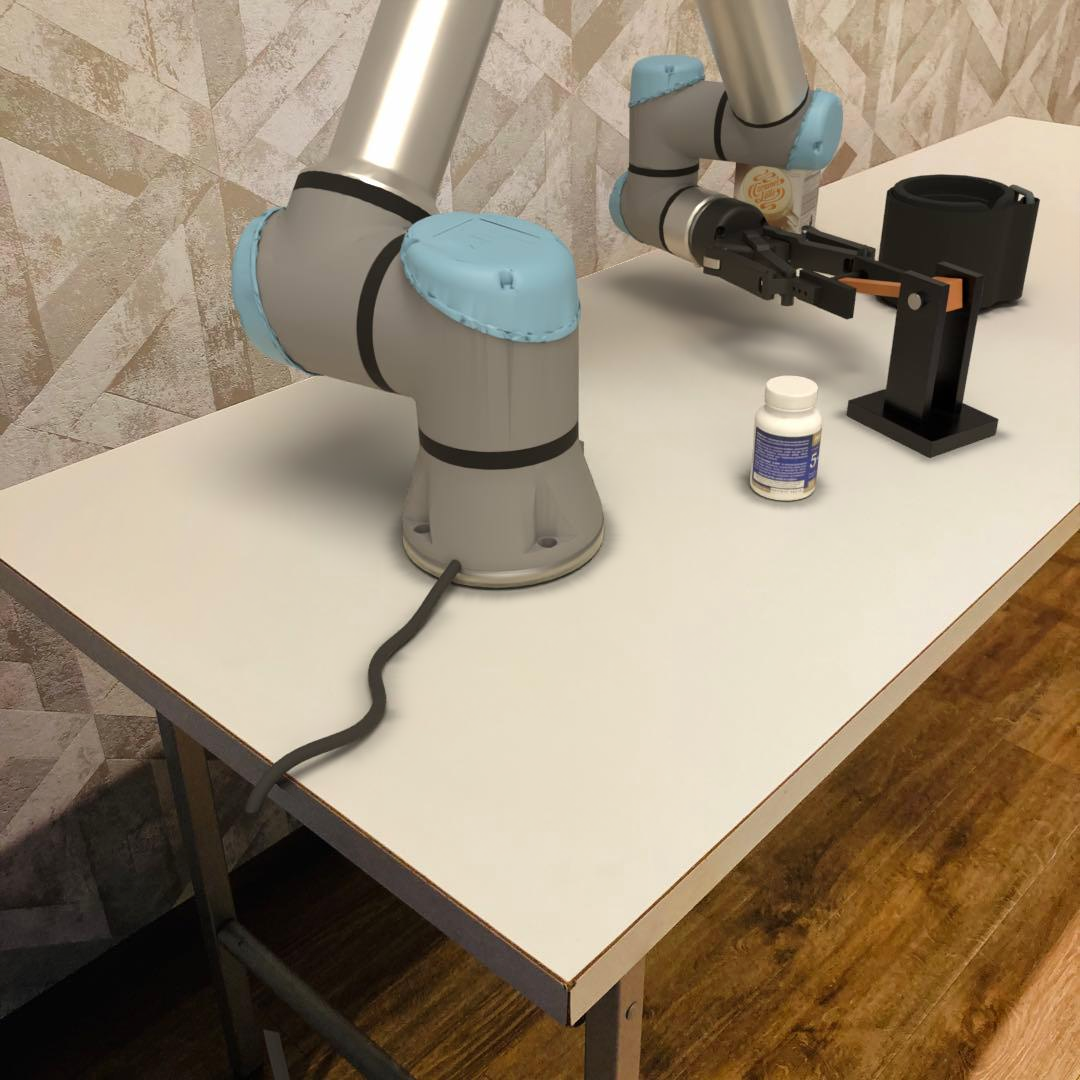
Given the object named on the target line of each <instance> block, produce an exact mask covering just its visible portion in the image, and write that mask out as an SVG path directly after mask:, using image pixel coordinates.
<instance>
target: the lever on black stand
mask: <svg viewBox="0 0 1080 1080" xmlns="http://www.w3.org/2000/svg"><path fill="white" fill-rule="evenodd" d="M935 277H945V278H956V279H962V308H959V309H955V310H952V311H948V312H946V309H947V302H948V296H949V290H950V284H947V283H944V282H942V281H939V280H936V279H933V278H930V277H928V276H925V275H922V274H919V273H917V272H914V271H911V270H909V271H906V272H902V276H901V284H900V291H899V298H898V305H897V306H896V307H897V308H896V313H895V321H894V327H893V328H894V329H893V336H892V343H891V349H890V357H889V365H888V371H887V378H886V386H885V388H883V389H881V390H877V391H874V392H871V393H868V394H865V395H864V394H863V395H862V396H858V397H855V398H852V399H851V398H850V399H848V401H847V408H846V416H847V417H849V418H851V419H853V420H855V421H857V422H859V423H861V424H863V425H864V426H867V427H869V428H871V429H872V430H874V431H877V432H879V433H880V434H882V435H884V436H887V437H889V438H891V439H892V440H895V441H896V442H899V443H900V444H902V445H905V446H906V447H909V448H910V449H912V450H914V451H916V452H918V453H920V454H922V455H924V456H925V457H928V458H933V457H935V456H938V455H942V454H944V453H947V452H950V451H953V450H955V449H959V448H962V447H965V446H967V445H969V444H972V443H976V442H978V441H981V440H984V439H986V438H989V437H993V436H995V435H996V434H997V430H998V424H999V418H997V417H995V416H993V415H991V414H989V413H986V412H984V411H982V410H980V409H977V408H975V407H973V406H971V405H969V404H966V403H964V397H965V391H966V386H967V381H968V375H969V369H970V363H971V358H972V351H973V347H974V340H975V334H976V329H977V322H978V318H979V311H980V308H979V306H980V301H981V295H982V289H983V284H984V278H985V275H982V274H979V273H977V272H974V271H971V270H968V269H965V268H962V267H959V266H956V265H953V264H950V263H947V262H941V263H937V264H936V270H935Z"/></svg>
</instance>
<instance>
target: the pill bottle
mask: <svg viewBox="0 0 1080 1080" xmlns="http://www.w3.org/2000/svg"><path fill="white" fill-rule="evenodd" d="M818 391H819V386H818V384H817V383H816V381H813V380H812V379H810V378H807V377H804V376H798V375H779V376H775V377H772V378H770V379H768V380H767V381H766V383H765V387H764V403H765V404H763V405H761V406H760V407H759V408H758V410H757V411H756V413H755V416H754V426H753V440H752V453H751V465H750V466H751V467H750V477H749V484H750V487H751V489H752V490H753V491H754V492H755V493H757V494H758V495H760V496H762V497H763V498H767V499H770V500H775V501H797V500H802V499H805V498H807V497H808V496H811V494H812V493H814V492H815V490H816V485H817V477H818V468H819V460H820V451H821V441H822V433H823V422H824V421H823V416H822V414H821V412H820V410H818V409H817V408H816V406H817V402H818V393H819V392H818Z"/></svg>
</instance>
